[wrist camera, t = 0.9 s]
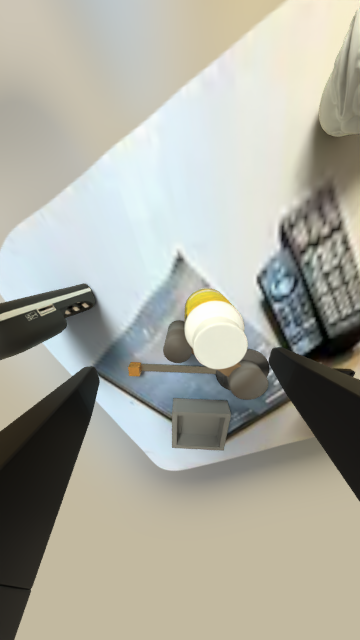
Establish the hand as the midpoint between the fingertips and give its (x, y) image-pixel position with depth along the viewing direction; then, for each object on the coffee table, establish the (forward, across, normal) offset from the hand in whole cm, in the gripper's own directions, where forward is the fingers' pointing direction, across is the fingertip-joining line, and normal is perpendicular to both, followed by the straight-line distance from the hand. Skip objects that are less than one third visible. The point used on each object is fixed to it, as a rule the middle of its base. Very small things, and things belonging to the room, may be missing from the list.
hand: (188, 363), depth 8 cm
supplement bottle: (+13, -4, +2) cm, 14 cm away
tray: (+10, -4, +23) cm, 26 cm away
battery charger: (+15, +13, +2) cm, 20 cm away
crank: (+11, -6, +9) cm, 15 cm away
